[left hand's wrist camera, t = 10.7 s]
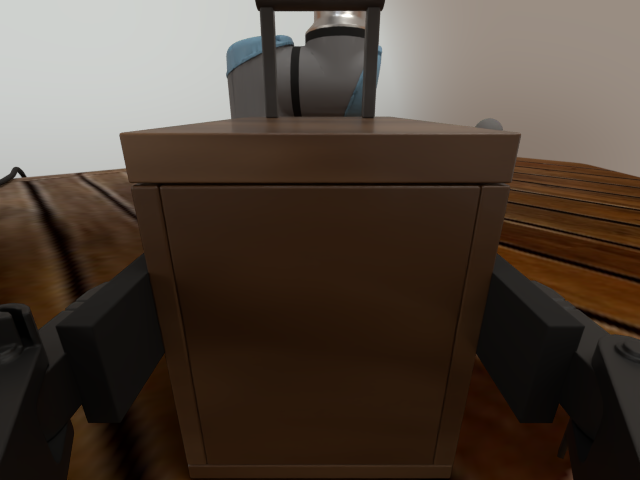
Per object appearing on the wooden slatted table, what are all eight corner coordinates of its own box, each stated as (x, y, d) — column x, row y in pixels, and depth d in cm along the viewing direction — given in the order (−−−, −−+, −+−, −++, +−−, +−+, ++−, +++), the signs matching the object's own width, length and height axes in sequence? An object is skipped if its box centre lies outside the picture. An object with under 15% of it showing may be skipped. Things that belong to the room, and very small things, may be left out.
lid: (251, 135, 23) (240, -18, 20) (389, 135, 23) (399, -18, 20) (128, 183, 8) (12, -376, 5) (511, 183, 8) (628, -375, 5)
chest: (259, 279, 26) (249, 136, 23) (380, 279, 26) (390, 136, 23) (189, 479, 12) (128, 185, 8) (450, 479, 12) (511, 185, 8)
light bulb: (473, 166, 76) (481, 118, 72) (464, 162, 82) (471, 118, 78) (500, 166, 76) (510, 118, 72) (490, 162, 81) (498, 118, 78)
